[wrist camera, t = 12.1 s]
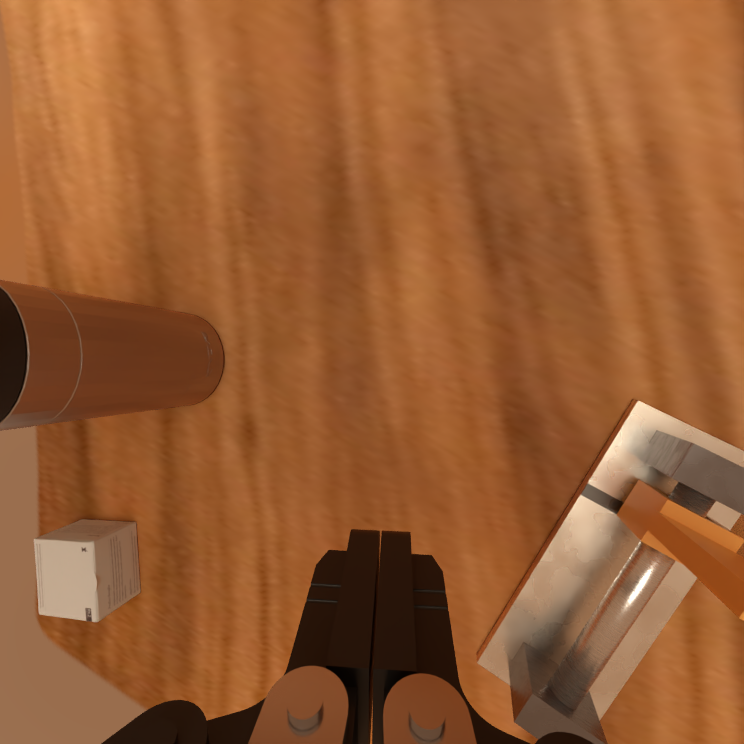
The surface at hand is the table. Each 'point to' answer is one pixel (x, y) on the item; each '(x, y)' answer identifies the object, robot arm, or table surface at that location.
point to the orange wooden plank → (688, 541)
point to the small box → (87, 569)
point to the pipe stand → (607, 576)
